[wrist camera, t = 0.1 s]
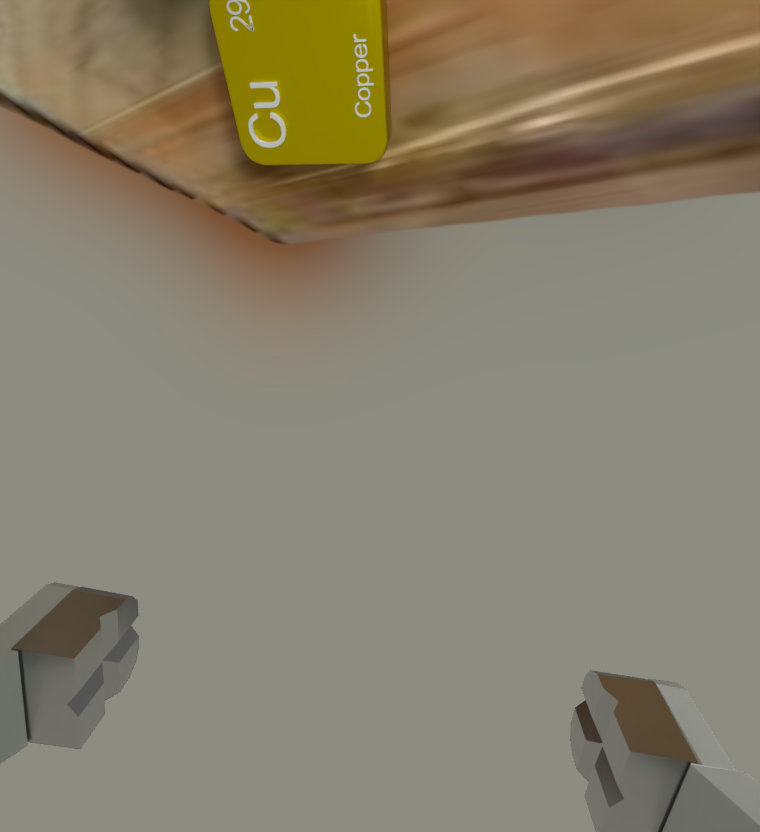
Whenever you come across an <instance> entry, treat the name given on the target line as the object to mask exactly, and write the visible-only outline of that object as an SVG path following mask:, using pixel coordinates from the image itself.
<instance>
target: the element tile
mask: <svg viewBox="0 0 760 832" xmlns="http://www.w3.org/2000/svg"><path fill="white" fill-rule="evenodd" d="M209 9H210V14H211V18H212V23H213V27H214V31H215V36H216V40H217V44H218V48H219V53H220V57H221V61H222V65H223V70H224V74H225V78H226V82H227V87H228V91H229V95H230V100H231V104H232V108H233V112H234V117H235V121H236V125H237V129H238V134H239V138H240V142H241V145H242V148H243V150H244V152H245V153H246V155H247V157H249V158H250V159H251V160H252V161H253V162H256V163H258V164H261V165H306V164H367V163H372V162H375V161H377V160H379V159H380V158H381V157H382V156H383V155H384V153H385V150H386V147H387V144H388V142H389V139H390V136H391V129H392V125H391V100H390V76H389V52H388V27H387V3H386V0H209Z"/></svg>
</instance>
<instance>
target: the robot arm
mask: <svg viewBox="0 0 760 832" xmlns="http://www.w3.org/2000/svg"><path fill="white" fill-rule="evenodd" d="M137 617H138V601H137V600H136V599H135V598H134V597H133V596H128V595H123V594H117V593H112V592H107V591H100V590H96V589H91V588H85V587H77V586H71V585H66V584H61V583H55V582H54V583H51V584H48V585H45V586H44V587H43V588H42V589H40V590H39V591H38V592H37V593H36V594H35V595H33V596H32V597H31V598H30V599H29V600H28V601H27V602H25V603H24V604H23V605H22V606H21V607H20V608H18V609H17V610H16V611H15V612H14V613H13V614H12V615H10V616H9V617H8V618H7V619H6V620H5V621H4V622H2V623H1V624H0V764H1V763H2V762H4V761H5V760H7V759H8V758H10V757H11V756H13V755H14V754H16V753H17V752H19V751H20V750H21V749H23V748H24V747H26V746H27V745H28V742H32V743H39V744H47V745H53V746H60V747H67V748H75V749H81V748H82V746H83V744H84V743H85V742H86V740H87V739H88V738H89V736H90V735H91V733H92V732H93V730H94V729H95V727H96V726H97V724H98V723H99V722H100V720H101V719H102V717H103V716H104V714H105V702H104V701H105V700H107V699H109V698H111V697H112V696H114V695H116V694H118V693H119V692H120V691H121V690H122V688H123V687H124V685H125V684H126V682H127V681H128V679H129V678H130V675H131V672H132V670H133V668H134V665H135V663H136V660H137V655H138V649H139V636H138V634H137V633H136V631H135V630H134V629H133V627H132V626H131V625H132V623H133V622H134V621H135V619H136V618H137ZM581 688H582V691H583V694H584V696H585V699H586V700H585V701H584V702H582V703H581V704H579V705H578V706H577V707H575V710H574V713H573V717H572V721H571V736H570V737H571V738H570V741H571V747H572V755H573V758H574V762H575V765H576V769H577V770H578V771H579V772H580V773H581V774H582V775H583V776H584V778H585V779H586V780H587V781H588V782H589V784H588V787H587V790H586V793H585V798H586V801H587V805H588V808H589V811H590V814H591V818H592V821H593V824H594V827H595V831H596V832H760V784H759V783H758V782H757V781H756V780H754V779H753V778H752V777H751V776H749V775H748V774H747V773H745V772H740V771H736V770H735V769H734V767H733V765H732V764H731V762H730V760H729V759H728V757H727V756H726V754H725V752H724V751H723V749H722V747H721V746H720V744H719V743H718V741H717V740H716V738H715V736H714V735H713V733H712V731H711V730H710V728H709V726H708V725H707V723H706V722H705V720H704V718H703V717H702V715H701V713H700V712H699V710H698V709H697V707H696V705H695V704H694V702H693V700H692V699H691V697H690V696H689V694H688V692H687V691H686V689H685V688H684V687H683V686H681V685H680V684H679V683H676V682H669V681H661V680H654V679H643V678H637V677H630V676H624V675H618V674H610V673H604V672H598V671H591V670H590V671H589V672H588V673H587V675H586V676H585V678H584V681H583V684H582V687H581Z"/></svg>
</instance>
